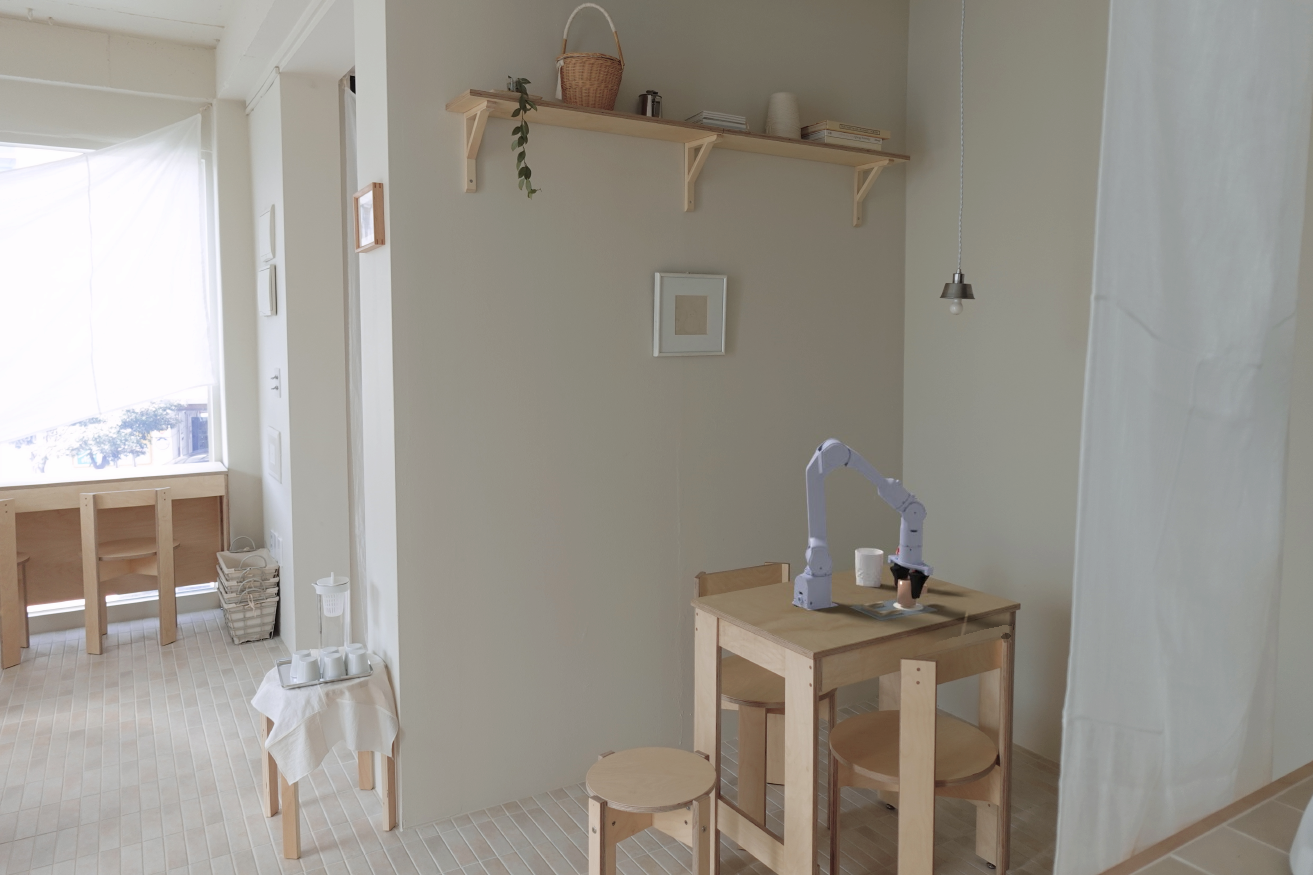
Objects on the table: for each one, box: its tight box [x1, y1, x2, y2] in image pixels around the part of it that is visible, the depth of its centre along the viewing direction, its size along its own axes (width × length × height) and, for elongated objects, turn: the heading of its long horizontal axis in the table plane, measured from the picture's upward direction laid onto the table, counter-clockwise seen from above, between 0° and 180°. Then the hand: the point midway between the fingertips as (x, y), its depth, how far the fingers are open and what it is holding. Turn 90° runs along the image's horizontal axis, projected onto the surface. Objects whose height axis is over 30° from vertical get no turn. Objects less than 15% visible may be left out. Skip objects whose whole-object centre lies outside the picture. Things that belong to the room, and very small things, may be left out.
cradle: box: [860, 601, 902, 617], centre depth 231 cm, size 7×8×1 cm
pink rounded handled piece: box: [896, 578, 928, 606], centre depth 235 cm, size 9×5×6 cm, turn 123°
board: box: [849, 598, 938, 621], centre depth 233 cm, size 19×12×1 cm, turn 117°
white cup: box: [854, 547, 884, 588], centre depth 256 cm, size 8×8×10 cm
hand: (908, 595), depth 235 cm, fingers closed on pink rounded handled piece, 4 cm apart
